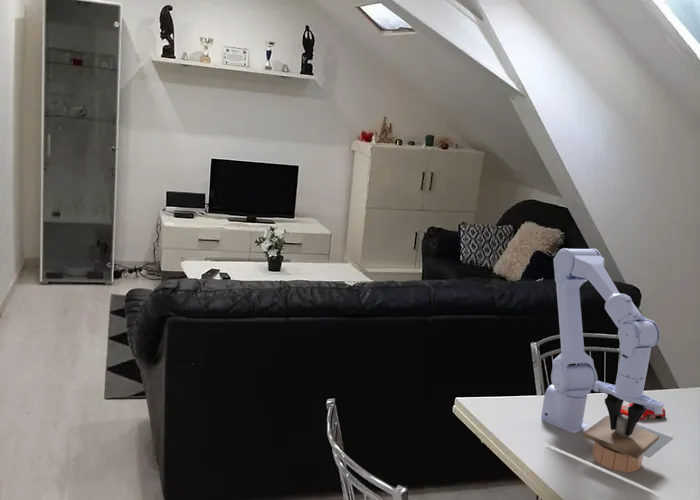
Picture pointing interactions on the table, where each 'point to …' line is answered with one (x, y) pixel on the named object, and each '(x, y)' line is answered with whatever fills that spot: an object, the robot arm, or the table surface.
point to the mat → (658, 444)
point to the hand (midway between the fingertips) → (621, 431)
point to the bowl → (615, 459)
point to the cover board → (621, 436)
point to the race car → (646, 415)
